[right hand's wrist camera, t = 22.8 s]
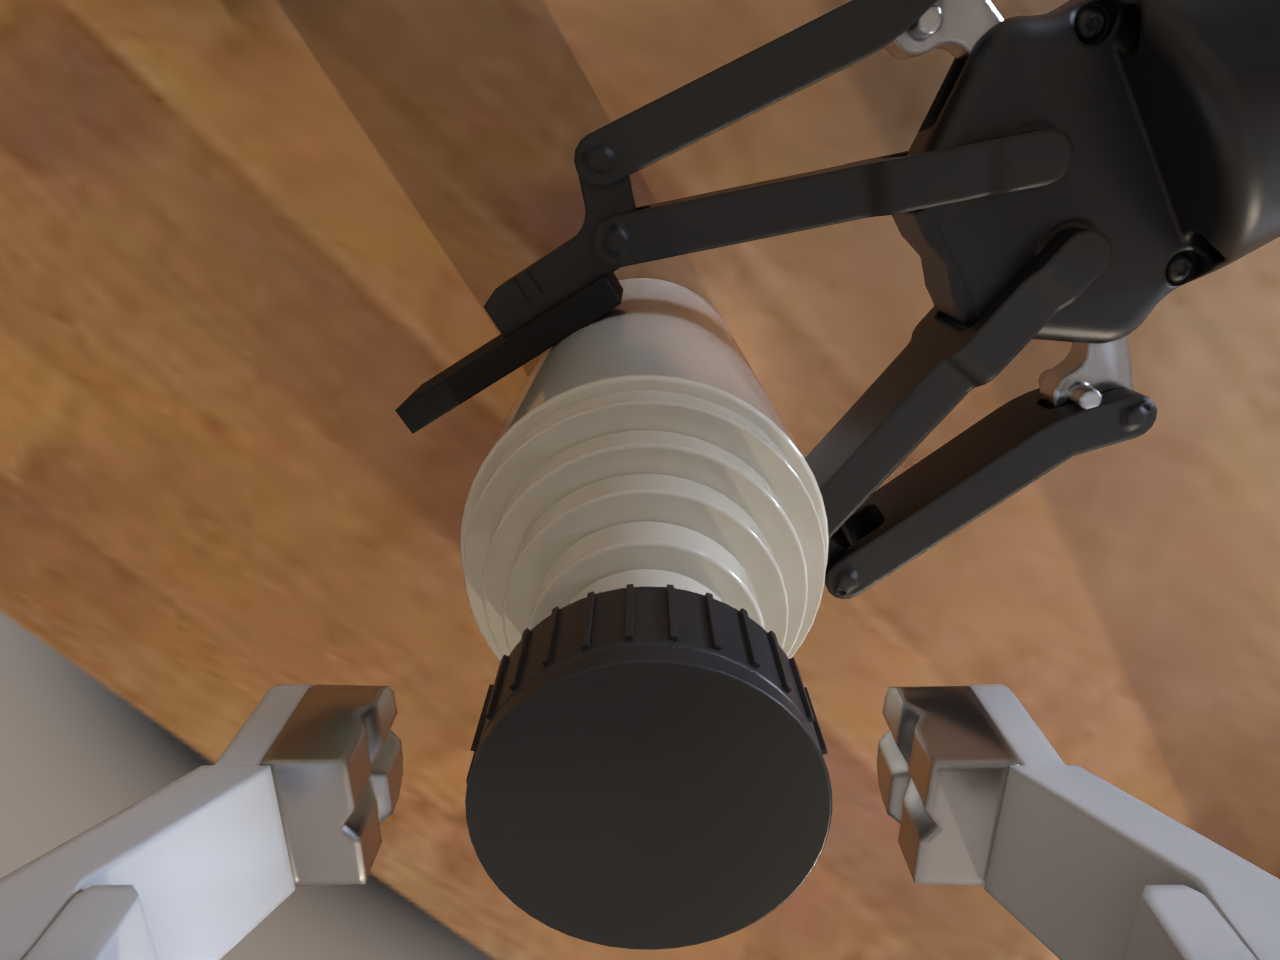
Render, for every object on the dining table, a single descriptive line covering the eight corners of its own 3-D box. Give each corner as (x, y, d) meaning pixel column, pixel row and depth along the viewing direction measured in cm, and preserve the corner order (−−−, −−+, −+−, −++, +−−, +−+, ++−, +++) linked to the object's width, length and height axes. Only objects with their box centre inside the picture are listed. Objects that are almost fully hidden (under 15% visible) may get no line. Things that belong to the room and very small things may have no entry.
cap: (545, 532, 10) (526, 603, 8) (863, 641, 10) (905, 727, 8) (448, 796, 11) (416, 899, 9) (732, 879, 11) (747, 989, 10)
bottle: (522, 437, 29) (311, 914, 10) (574, 250, 27) (425, 424, 8) (701, 491, 30) (808, 1025, 11) (768, 313, 28) (1046, 607, 9)
